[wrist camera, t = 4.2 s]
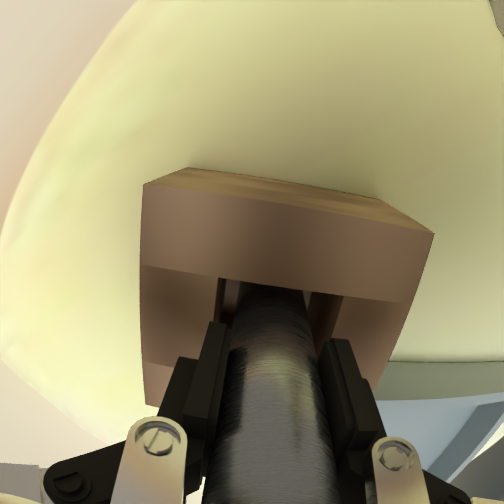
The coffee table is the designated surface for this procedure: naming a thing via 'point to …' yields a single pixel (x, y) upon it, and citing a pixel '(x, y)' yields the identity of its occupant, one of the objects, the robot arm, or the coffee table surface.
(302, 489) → the pin
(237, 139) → the coffee table surface
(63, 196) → the coffee table surface
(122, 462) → the robot arm
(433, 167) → the coffee table surface
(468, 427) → the tray
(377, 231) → the holder block
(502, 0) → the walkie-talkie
